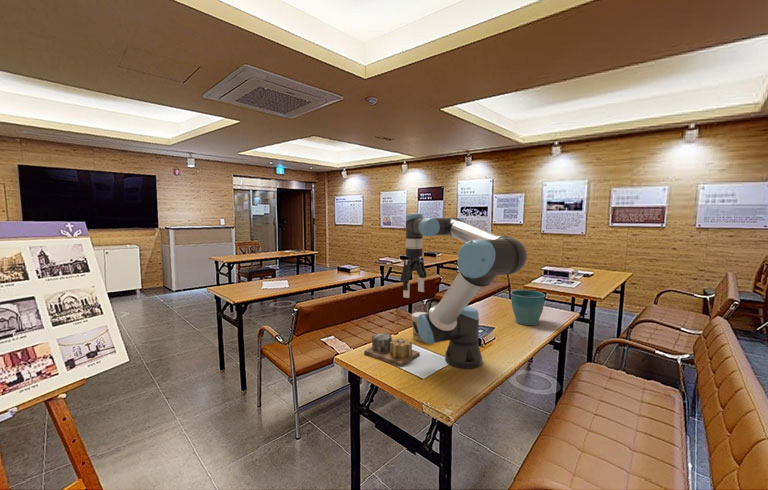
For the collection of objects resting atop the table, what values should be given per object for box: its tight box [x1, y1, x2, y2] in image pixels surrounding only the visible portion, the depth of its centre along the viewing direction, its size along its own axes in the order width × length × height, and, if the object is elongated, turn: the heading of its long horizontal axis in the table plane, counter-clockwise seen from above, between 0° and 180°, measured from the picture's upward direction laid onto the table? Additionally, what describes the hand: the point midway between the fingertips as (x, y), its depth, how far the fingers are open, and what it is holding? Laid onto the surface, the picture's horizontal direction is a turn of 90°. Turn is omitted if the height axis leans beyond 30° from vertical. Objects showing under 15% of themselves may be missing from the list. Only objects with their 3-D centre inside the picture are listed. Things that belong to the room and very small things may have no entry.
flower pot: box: [510, 289, 546, 326], centre depth 188 cm, size 18×18×17 cm
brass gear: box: [390, 337, 413, 359], centre depth 142 cm, size 9×9×6 cm
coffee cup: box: [411, 311, 427, 342], centre depth 165 cm, size 9×9×12 cm
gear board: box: [363, 332, 421, 367], centre depth 145 cm, size 20×14×8 cm
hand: (414, 294), depth 150 cm, fingers open, 13 cm apart
